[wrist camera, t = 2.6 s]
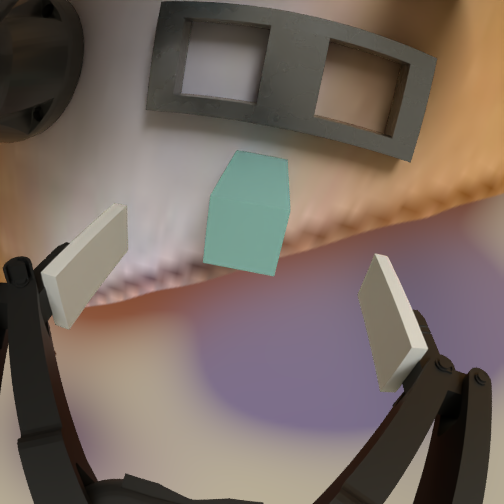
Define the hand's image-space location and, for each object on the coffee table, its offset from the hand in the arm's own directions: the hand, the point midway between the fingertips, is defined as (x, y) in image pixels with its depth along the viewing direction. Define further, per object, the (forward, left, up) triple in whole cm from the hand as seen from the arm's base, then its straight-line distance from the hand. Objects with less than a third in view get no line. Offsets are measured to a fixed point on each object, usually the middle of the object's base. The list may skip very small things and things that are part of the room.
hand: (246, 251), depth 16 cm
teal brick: (0, 0, -11) cm, 11 cm away
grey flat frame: (+1, +9, -11) cm, 14 cm away
